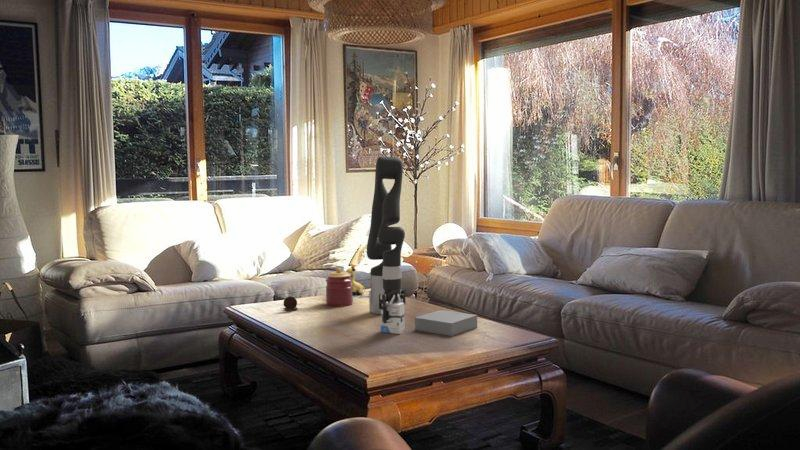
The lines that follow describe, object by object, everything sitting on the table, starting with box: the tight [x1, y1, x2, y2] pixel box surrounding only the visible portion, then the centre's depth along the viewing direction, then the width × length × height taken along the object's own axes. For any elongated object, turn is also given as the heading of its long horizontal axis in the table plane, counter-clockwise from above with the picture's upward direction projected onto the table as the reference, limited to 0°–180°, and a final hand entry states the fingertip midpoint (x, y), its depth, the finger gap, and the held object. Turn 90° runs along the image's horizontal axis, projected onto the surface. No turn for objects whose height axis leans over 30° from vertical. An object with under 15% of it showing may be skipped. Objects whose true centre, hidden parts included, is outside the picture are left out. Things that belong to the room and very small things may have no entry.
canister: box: [325, 267, 354, 307], centre depth 335 cm, size 13×13×18 cm
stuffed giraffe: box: [345, 265, 369, 299], centre depth 358 cm, size 16×18×16 cm
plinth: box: [414, 309, 478, 337], centre depth 281 cm, size 18×18×5 cm
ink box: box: [380, 301, 406, 335], centre depth 277 cm, size 8×5×12 cm, turn 68°
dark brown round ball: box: [279, 295, 298, 312], centre depth 322 cm, size 8×8×7 cm
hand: (392, 318), depth 277 cm, fingers open, 7 cm apart
